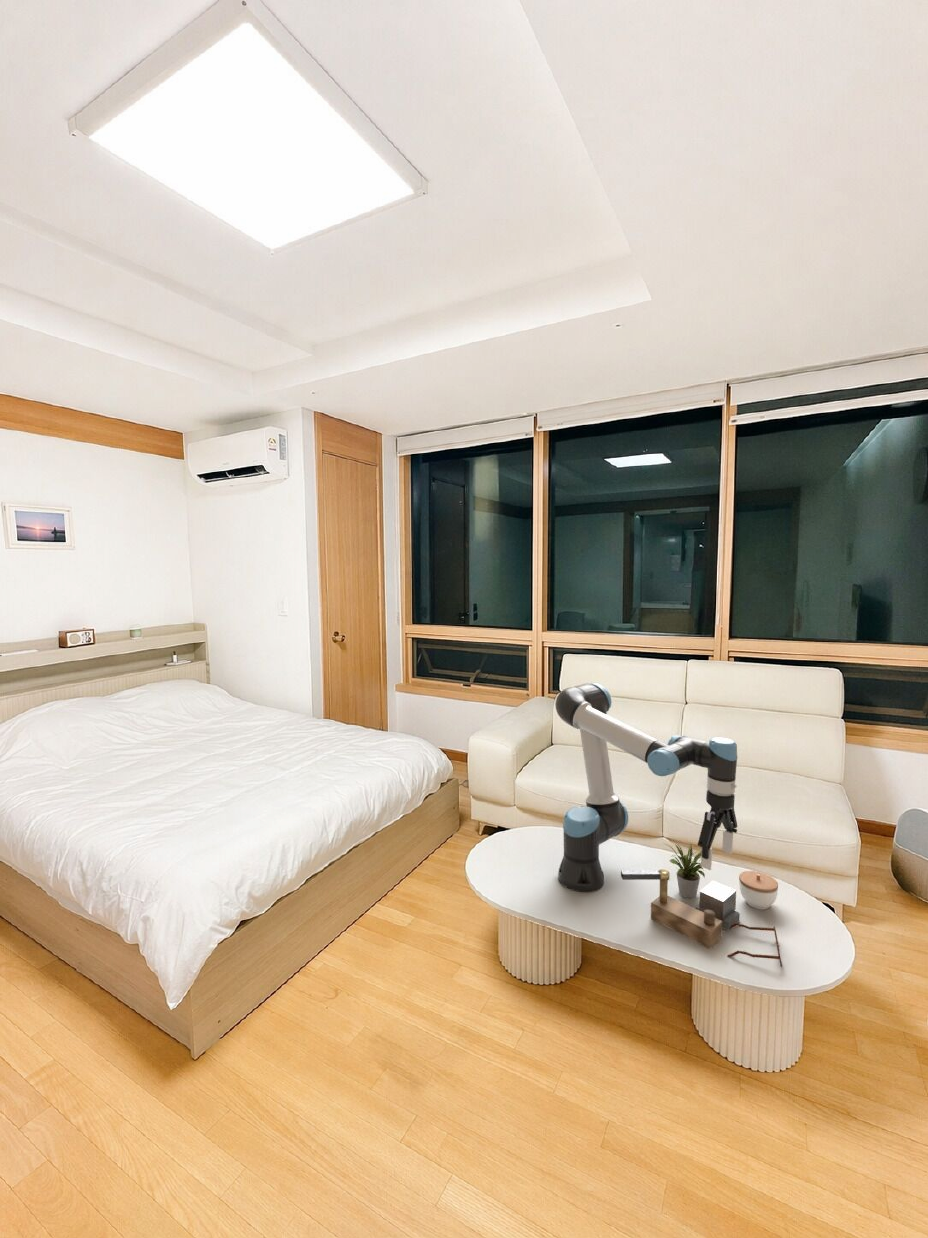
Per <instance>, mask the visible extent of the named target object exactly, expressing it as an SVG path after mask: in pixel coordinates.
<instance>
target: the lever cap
mask: <svg viewBox="0 0 928 1238" xmlns="http://www.w3.org/2000/svg"><path fill="white" fill-rule="evenodd" d="M736 903H737V889H734V888H732V887H729V886H727V885H723V884H722V883H719V882H717V881H714V880H712V881H711V882H709V883H708V884H707V885H706V886H704V887H703V888H702V889H701V890H699V904H698V905H699V910H700V911H702V912H704V911H705V910H711V911H713V912H714V913H715V918H717V919H719V920H721V921H724V920H725V919H726V918H727V917H728V916H729V915H730V914H731V913H732V912H734V911H736V910H737V909H736V907H737V906H736Z"/></svg>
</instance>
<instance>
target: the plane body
mask: <svg viewBox="0 0 928 1238" xmlns="http://www.w3.org/2000/svg"><path fill="white" fill-rule="evenodd" d="M668 882H669V880H667V881H664V880H659V896H658V897H657V898H655V899H654V900H652V901H651V903H650V919H651V920H653V921H655V922H657V923H659V924H660V925H663V926H665V927H667V928H668V929H671V930H672V931H674V932H676V933H679V934H680V935H682V936H684V937H686V938H688V939H690V940H692V941H694V942H696V943H698V944H700V945H701V946H704V947H706V948H707V949H710V950H711V949H712V948H713V947H714V946H715V945H716V944H717V943H718V942H719V941H720V940H721V939H722V936H723V928H722V921H721V920H719V919H717V918H715V913H714V912H713V911H711V910H705V911H704V912H702V911H700V910H697V909H695V908H696V907H693V906H691V905H689V904H686V903H685V902H682V901H680V900H678V899H676V898H674V897H673V896H670V895H668V889H669V888H668V886H669V885H668Z"/></svg>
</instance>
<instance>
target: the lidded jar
mask: <svg viewBox="0 0 928 1238" xmlns="http://www.w3.org/2000/svg"><path fill="white" fill-rule="evenodd" d="M738 878H739V879H738V880H739V891H740V894H741V896H742V898H743V899H744V900H745V901H746V903H747V904H748V905H749V906H750V907H752V908H754V909H757V910H767V909H769V908H770V907H771V906H772V905H774V903H775V902H776V899H777V896H778V888H779V883H778V881H777V880H776V879H775V878H774V877H772V876H771V875H769V874H766V873H763V872H760V871H755V870H748V871H747V870H745V871H743V872H741V873H739V876H738Z"/></svg>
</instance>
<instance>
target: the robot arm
mask: <svg viewBox="0 0 928 1238" xmlns="http://www.w3.org/2000/svg"><path fill="white" fill-rule="evenodd" d="M554 706H555V710H556V713H557V715H558V717H559V718H560V719H561V720H562V721H563V722H564V723H566V724H567V725H569V726H571V727H572V728H574V729H577V730H580V731H579V732H580V741H581V745H582V753H583V759H584V760H583V761H584V767H585V774H586V780H587V781H586V782H587V788H588V796H587V797H586V798H585V804H586V805H581V806H575V807H571V808H570V809H568V810H567V811H566V812H565V814H564V816H563V823H562V827H563V857H562V859H561V863H560V865H559V868H558V876H557V877H558V881H559V882H560V884H561V885H562V886H563V887H565V888H567V889H570V890H573V891H574V892H575V891H576V892H582V893H586V892H587V893H588V892H594V891H598V890H599V889H601V888H603V886H604V884H605V874H604V871H603V869H602V865H601V862H600V853H599V852H600V845H601V844H604V843H606V842H607V841H609V840H610V839H613V838H615V837H617V836H618V835H620V834H621V833H622V832H624V831H625V830H626V829H627V826H628V824H629V813H628V810H627V807H626V806H624V803H623V802H622V801H620V797H619V796H618V795H617V794H616V793H615V791H614V790H615V789H614V784H613V777H612V771H611V764H610V757H609V751H608V743H609V744H611V745H613V746H614V747H616V748H618V749H620V750H622V751H624V752H626V753H628V754H630V755H632V756H633V757H635V758H636V759H639V760H641V761H643V762H644V763H646V764H647V766H648V768H649V770H650V771H651V772H652V774H654V775H655V776H658V777H667V776H670V775H673V774H675V773H677V772H678V771H680V770H682V769H685V768H686V767H689V766H690V765H694V766H697V767H701V768H703V769H704V768H705V769H707V777H706V797H705V801H706V803H707V804H708V805H709V806H710V810H709V811H705V812H704V817H703V819H704V820H703V823H702V827H701V830H700V835H699V837H698V842H697V846H698V847H700V848H701V851H702V853H701V857H700V863H701V867H702V868H703V869H705V870H708V871H711V870H712V862H713V861H712V860H713V847H712V845H713V842H714V839H715V836H716V834H717V831H718V829H719V828H720V827H721V826H723V827H724V829H723V830H722V847H721V851H722V852H724V853H727V854H729V855H732V854H733V848H734V847H733V845H734V834H737V833H738V829H737V828H738V822H737V818H736V812H735V797H736V795H735V792H736V788H737V786H738V785H737V784H736V778H737V777H736V776H737V764H738V763H737V762H738V745H737V743H736V742H735V741H734V740H732V739H730V738H726V737H720V736H716V737H711V738H710V739H709V742H708V741H703V740H699V739H697V738H693V737H692V738H691V737H689V736H686V735H679V734H673V735H672V736H671V738H670V739H669V740H668V742H667V744H666V743H664V742H661V741H659V740H658V739H655V738H654V737H652V736H649V735H647V734H645V733H643V732H641V731H640V730H638V729H636V728H634V727H632V726H629V725H628V724H625V723H623V721H622V722H621V721H619V720H618V719H616V718H613V717H611V716H610V715H608V712H609V711H610V708H611V707H612V697H611V694H610V693H609V691H608V690H607V688H606V687H604V686H603V685H602V684H600V683H597V682H589V683H588V682H587V683H583V684H579V685H574V686H571V687H567V688H565V689H562V690H561V691H560V692H559V693H558V695H557V697H556V700H555V705H554Z"/></svg>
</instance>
